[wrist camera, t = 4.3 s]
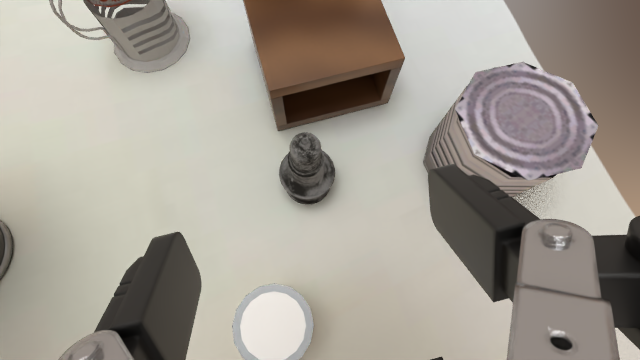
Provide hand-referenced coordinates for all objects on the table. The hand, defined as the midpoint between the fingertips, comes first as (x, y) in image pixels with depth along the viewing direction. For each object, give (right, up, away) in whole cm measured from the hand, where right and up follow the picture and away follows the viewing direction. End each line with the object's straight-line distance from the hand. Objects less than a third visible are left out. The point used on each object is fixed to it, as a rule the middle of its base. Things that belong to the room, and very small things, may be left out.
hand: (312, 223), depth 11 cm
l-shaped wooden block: (0, +15, +34) cm, 37 cm away
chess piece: (-1, +1, +30) cm, 30 cm away
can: (+18, +3, +31) cm, 36 cm away
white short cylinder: (-4, -13, +26) cm, 29 cm away
